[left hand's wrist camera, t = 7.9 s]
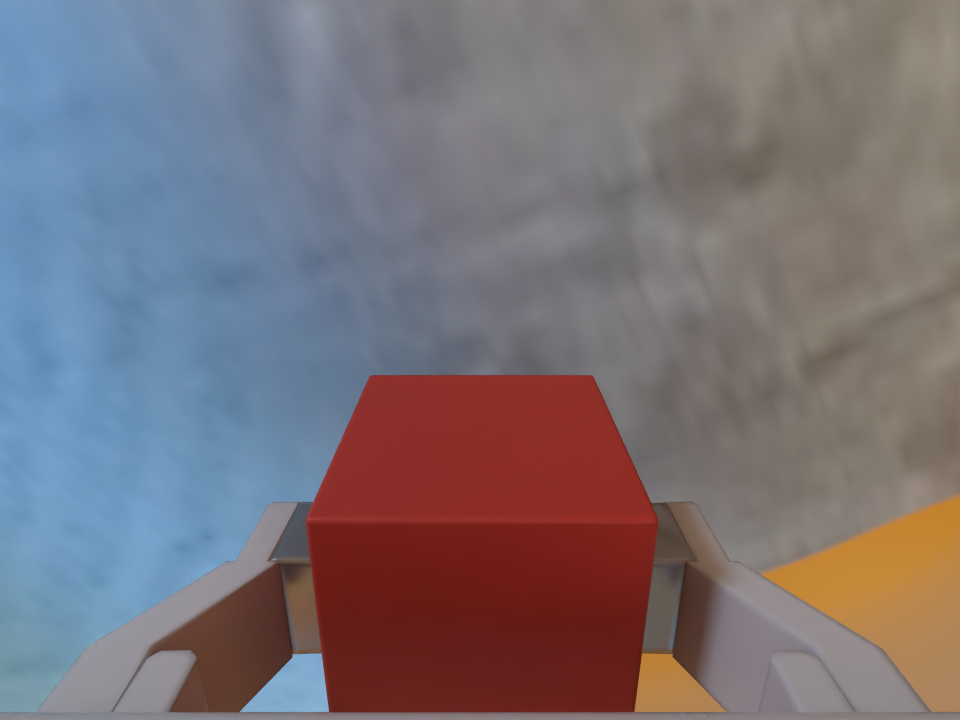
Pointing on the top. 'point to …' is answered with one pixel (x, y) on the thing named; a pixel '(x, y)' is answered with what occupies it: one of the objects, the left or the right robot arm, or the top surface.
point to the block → (481, 549)
